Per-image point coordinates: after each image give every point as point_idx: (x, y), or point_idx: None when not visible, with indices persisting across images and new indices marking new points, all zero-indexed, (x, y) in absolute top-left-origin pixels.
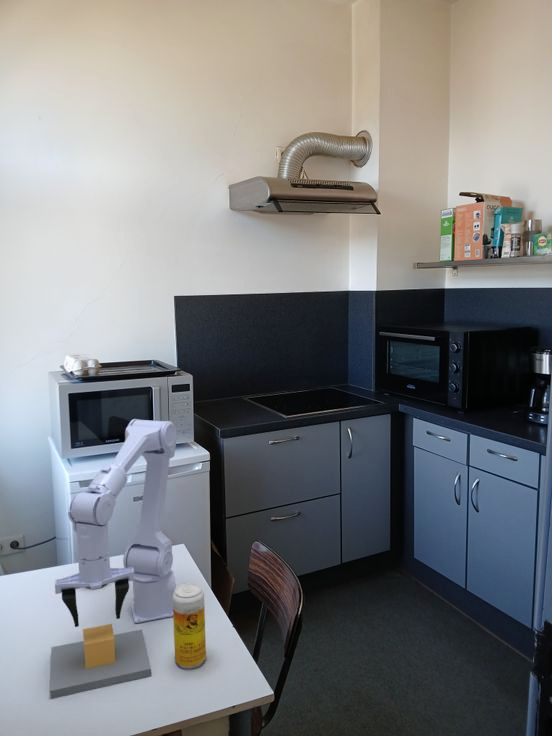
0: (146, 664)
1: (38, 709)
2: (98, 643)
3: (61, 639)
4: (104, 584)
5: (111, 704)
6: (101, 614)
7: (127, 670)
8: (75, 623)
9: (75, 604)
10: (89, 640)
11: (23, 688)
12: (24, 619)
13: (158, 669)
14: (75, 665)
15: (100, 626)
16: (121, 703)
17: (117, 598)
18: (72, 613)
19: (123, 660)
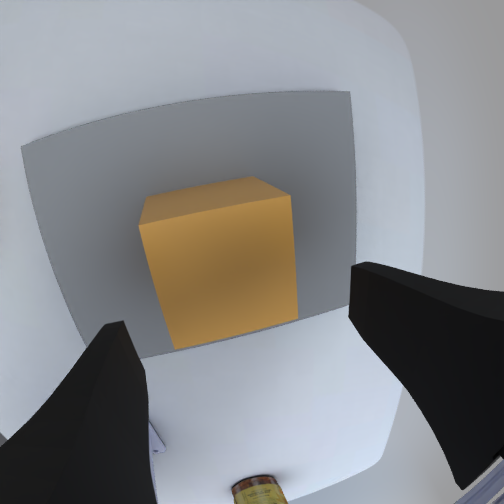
0: (35, 172)
1: (358, 62)
2: (218, 205)
3: (320, 348)
4: (238, 484)
5: (153, 20)
6: (231, 427)
7: (96, 142)
8: (380, 266)
9: (492, 316)
10: (267, 227)
11: (397, 162)
12: (378, 396)
13: (15, 178)
14: None
15: (224, 334)
16: (122, 21)
17: (69, 441)
18: (445, 286)
19: (117, 205)
